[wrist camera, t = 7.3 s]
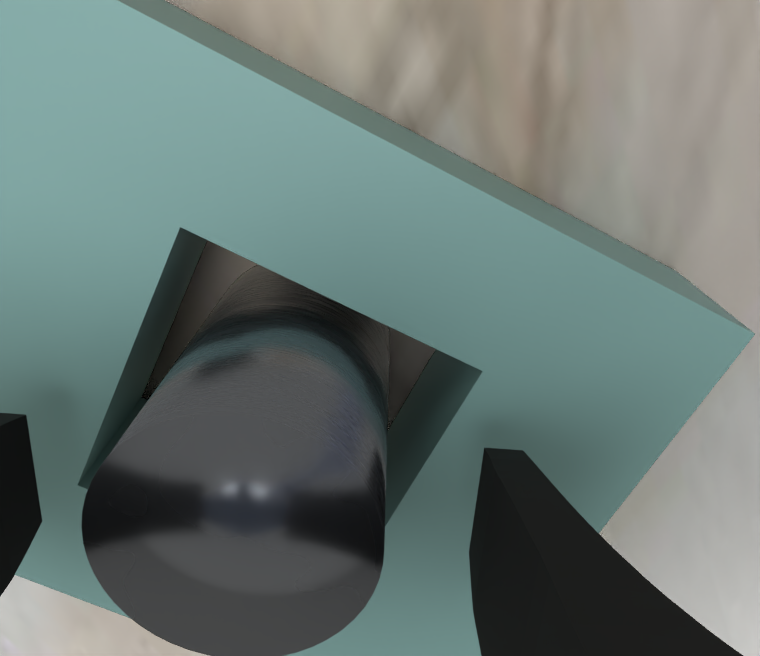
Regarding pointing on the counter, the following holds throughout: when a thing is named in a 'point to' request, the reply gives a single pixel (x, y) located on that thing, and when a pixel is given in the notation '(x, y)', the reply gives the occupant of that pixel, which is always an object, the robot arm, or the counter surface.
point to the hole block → (315, 289)
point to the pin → (251, 478)
